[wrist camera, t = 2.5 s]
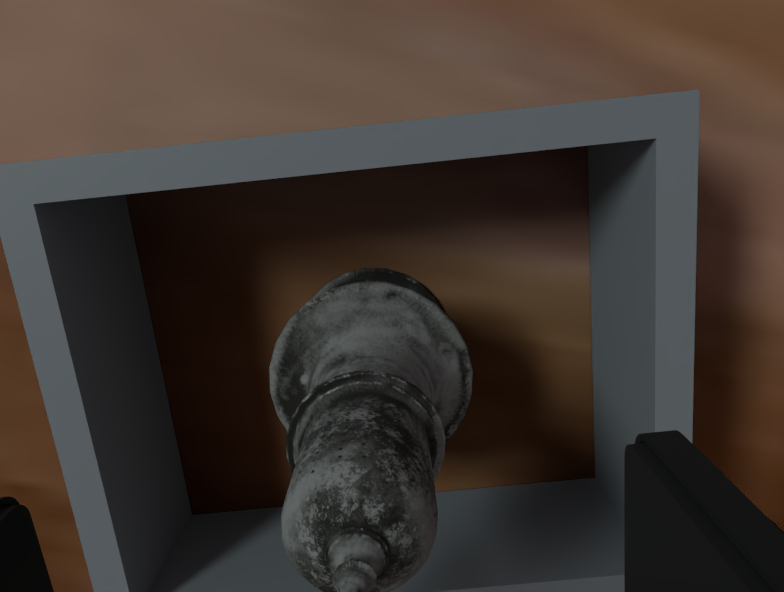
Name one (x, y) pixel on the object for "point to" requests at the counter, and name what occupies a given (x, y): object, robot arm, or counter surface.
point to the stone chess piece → (366, 427)
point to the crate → (455, 508)
